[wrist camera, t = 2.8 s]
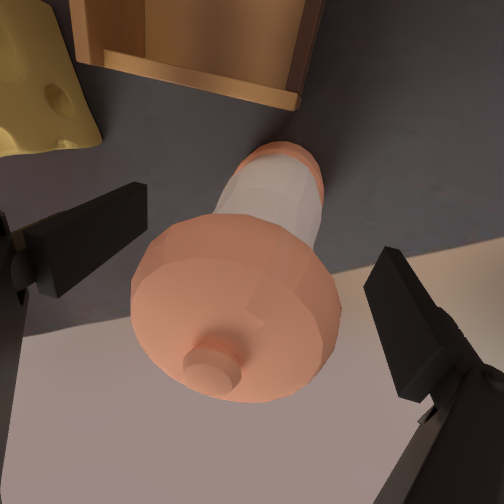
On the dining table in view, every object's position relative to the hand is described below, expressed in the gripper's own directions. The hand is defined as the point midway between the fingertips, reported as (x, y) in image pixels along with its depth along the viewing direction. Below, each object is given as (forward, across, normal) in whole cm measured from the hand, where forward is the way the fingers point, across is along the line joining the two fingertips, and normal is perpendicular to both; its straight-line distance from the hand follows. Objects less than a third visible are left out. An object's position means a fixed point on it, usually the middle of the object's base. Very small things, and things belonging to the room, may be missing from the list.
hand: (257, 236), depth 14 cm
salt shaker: (+10, 0, 0) cm, 10 cm away
